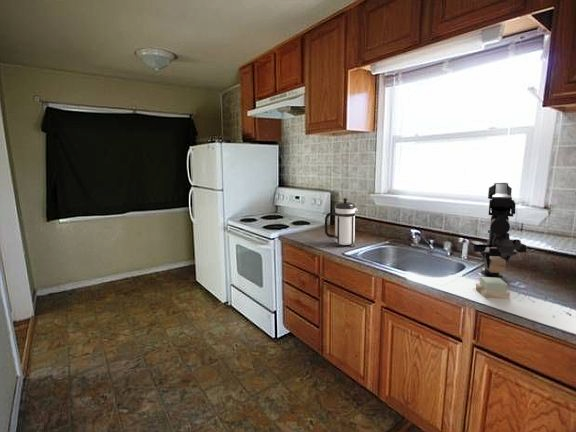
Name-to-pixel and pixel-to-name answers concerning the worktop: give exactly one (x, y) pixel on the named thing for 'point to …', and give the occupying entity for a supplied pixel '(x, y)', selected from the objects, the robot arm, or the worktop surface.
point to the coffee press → (343, 223)
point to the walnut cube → (496, 265)
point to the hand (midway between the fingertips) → (494, 267)
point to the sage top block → (493, 284)
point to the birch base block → (491, 292)
